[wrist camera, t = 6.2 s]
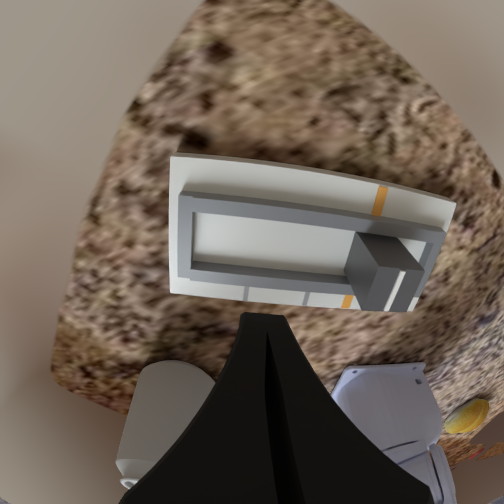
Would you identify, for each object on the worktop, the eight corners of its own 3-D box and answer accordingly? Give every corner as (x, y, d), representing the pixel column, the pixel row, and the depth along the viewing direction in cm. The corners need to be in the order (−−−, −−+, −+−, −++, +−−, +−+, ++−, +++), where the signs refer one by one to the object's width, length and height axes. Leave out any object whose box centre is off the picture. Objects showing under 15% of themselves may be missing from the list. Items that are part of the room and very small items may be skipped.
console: (447, 197, 17) (464, 209, 15) (406, 301, 22) (417, 319, 20) (175, 152, 16) (165, 160, 14) (173, 282, 20) (166, 301, 19)
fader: (396, 237, 17) (425, 272, 14) (383, 274, 19) (406, 313, 15) (355, 231, 17) (379, 267, 14) (343, 270, 19) (362, 311, 15)
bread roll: (469, 394, 32) (479, 414, 28) (490, 396, 34) (498, 413, 30) (433, 425, 36) (440, 444, 32) (457, 424, 37) (464, 440, 34)
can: (130, 377, 26) (100, 482, 16) (164, 341, 23) (131, 473, 13) (192, 407, 29) (180, 507, 18) (234, 378, 26) (230, 500, 15)
